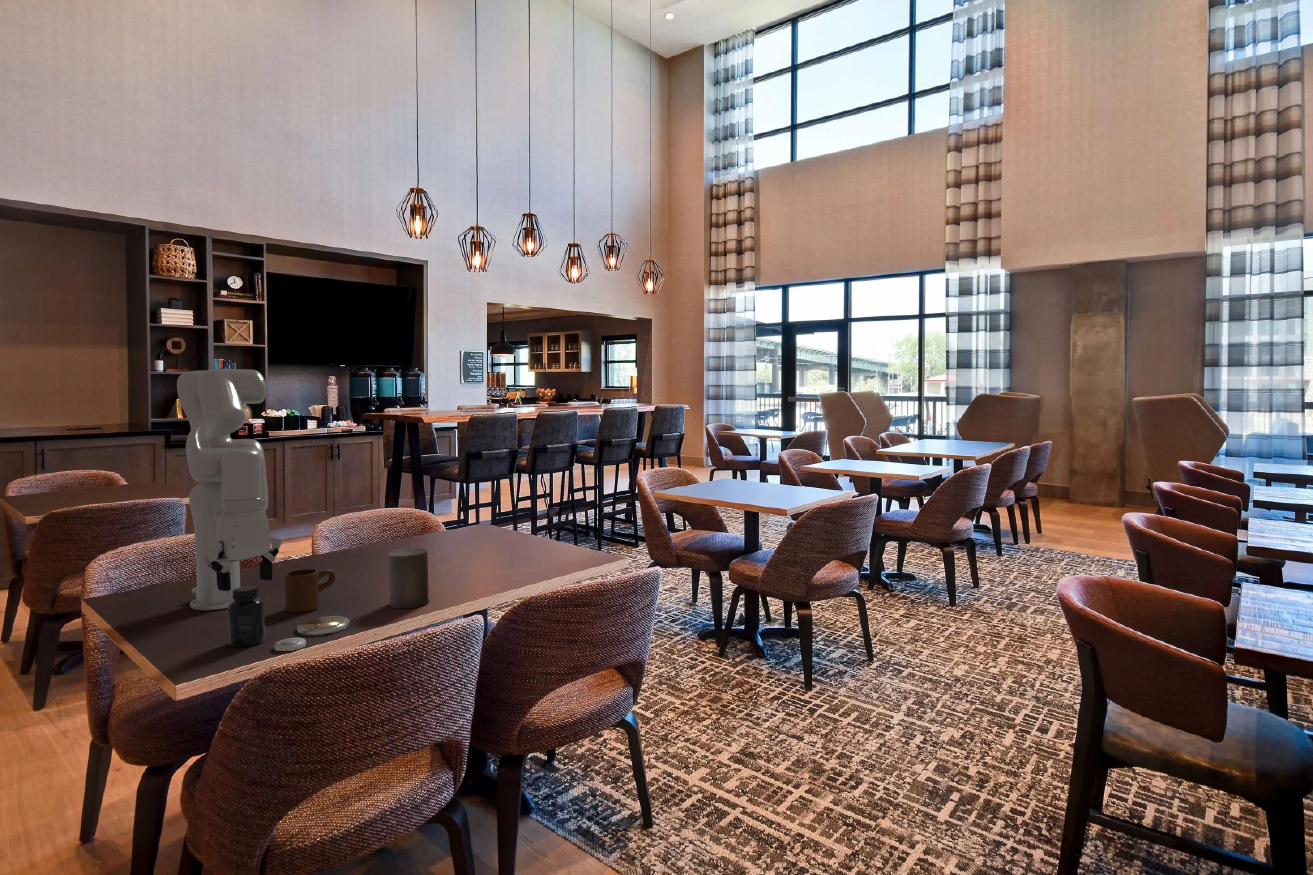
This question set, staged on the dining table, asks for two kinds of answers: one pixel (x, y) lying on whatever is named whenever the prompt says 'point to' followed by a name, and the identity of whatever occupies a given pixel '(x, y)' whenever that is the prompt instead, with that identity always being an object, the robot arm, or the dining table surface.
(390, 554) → the pillar candle
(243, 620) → the supplement bottle
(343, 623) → the silver and gold coaster
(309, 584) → the mug
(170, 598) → the dining table surface
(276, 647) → the plastic flange
